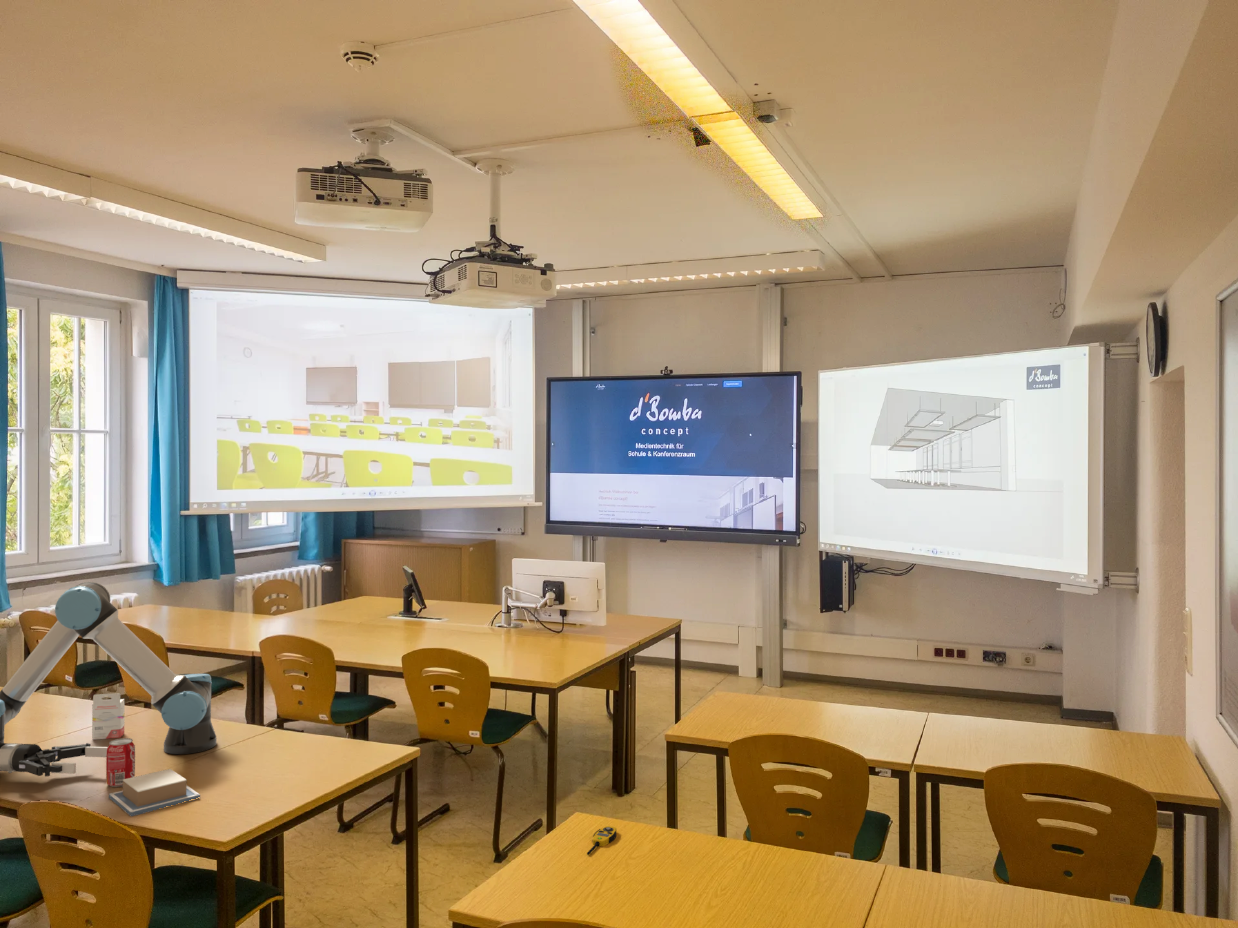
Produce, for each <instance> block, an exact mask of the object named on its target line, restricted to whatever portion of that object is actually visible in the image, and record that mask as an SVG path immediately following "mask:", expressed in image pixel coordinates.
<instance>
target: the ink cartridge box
mask: <svg viewBox="0 0 1238 928" xmlns="http://www.w3.org/2000/svg"><path fill="white" fill-rule="evenodd" d="M103 698H106V699H103ZM107 698H108V699H107ZM109 698H110V699H109ZM91 706H92V710H91V711H92V713H91V714H92V717H91V718H92V719H91V720H92V725H91V728H92V729H91V735H92V736H91V737H92V738H91V739H92V740H106V739H107V740H108V739H121V738H122V736H123V735H124V734H125V698H121V693H119V692H117V693H103V694H102V693H101V694H99V693H98V694H93V698H92V705H91Z"/></svg>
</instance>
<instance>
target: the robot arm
mask: <svg viewBox="0 0 1238 928" xmlns="http://www.w3.org/2000/svg"><path fill="white" fill-rule="evenodd" d="M54 614H55V617H56V622H55V623H54V625H53V626H52V627H51V628H49V630H48V632H47V633H46V634H45V635H44V637H43V638H42V639H41V640H40V641H39V642H38V644H37V645H36V647H35V648H34V649H33V650H32V652H30V654H29V655H28V656H27V657H26V659H25V660H24V661H23V663H22V664H21V665H20V667H19V668H18V669H17V670H16V672H14V674H13V675H12V676H11V678H10V679H8V682H7V683H6V684H5V685H4V687H3V688H2V689H1V690H0V772H8V773H9V774H11V773H13V772H17V773H18V772H19V773H29V774H32V775H34V776H37V777H41V776H43V775H44V777H49V776H51V773H52V774H69V775H72V774H73V775H74V774H76V773H77V771H76V770H77V769H76V768H77V763H76V762H63V761H61V760H65V759H70V758H71V759H72V758H76V757H84V758H85V757H88V758H106V755H107V748H108V746H91V744H92V743H89V742H86V743H83V744H73V745H62V746H61V745H60V746H52V747H51V749H50V748H47V749H42V748H41V747H40V745H38V744H36V743H16V742H15V743H10V742H6V743H5V726H6V724H8V723H9V722H10V721H11V720H12V719H14V718H16V716H17V715H18V714H19V713H20V711H21V710H22V708H23V706H24V705H25V704H26V702H27V701H28V700H29V699H30V697H31V696H32V695H33V694H34V693H35V691H36V690H37V689H38V687H40V685H41V684H42V683H43V682H44V681H45V679H46V677H47V676H48V675H49V674H50V672H51V671H52V670H53V669H54V668H55V666H57V664H58V663H59V662H60V660H61V659H62V657H63V656H64V655H65V654H66V653H67V651H68V650H69V649H70V648H71V646H72V645H73V644H74V642H75V641H76V640H77V639H78V637H81V638H82V639H84V640H85V639H87V640H88V639H89V640H93V642H94V643H96V644H97V645H98V647H100V648H101V649H102V650H103V651H104V652H105V653H106V654H107V655H108V656H109V657H111V659H112V660H113V661H114V662H116V663H117V665H119V666H120V667H121V668H122V669H123V670H124V671H125V672H126V673H127V674H128V675H129V677H131V678H132V679H133V680H134V681H135V682H136V683H137V684H138V685H140V687H141V688H142V689H144V691H146V693H148V694H149V695H150V696H151V699H150V704H151V705H152V706H153V707H154V708H155V709H156V711H158V712H159V713H160V714H161V718H162V720H163V722H164V724H166V726H167V727H169V728H168V731H167V733H166V736H165V739H164V742H163V752H165V753H167V754H170V755H189V754H195V753H201V752H205V751H209V750H210V749H213V748H214V747H215V746H217V739H218V738H217V735H216V731H215V729H214V726H213V723H212V718H211V717H212V709H211V708H212V683H213V682H212V676H211V675H210V674H209V673H190V674H189V673H188V674H176V673H175V672H174V671H173V670H171V668H170V667H169V666H168V665H166V664H165V662H163V660H161V659H160V657H158V656H157V655H156V654H155V653H154V652H153V651H152V650H151V649H150V648H149V646H147V645H146V644H145V643H144V642H143V641H142V640H141V639H140V638H139V637H138V636H137V635H136V634H135V633H134V632H133V631H132V630H130V628H129V627H128V626H127V625H126V624H124V623H123V622H122V620H120V618H119V609H117V607H116V606H114V604H112V602H111V595H110V592H109V591H108V589H107V588H106V587H105V586H103V585H102V584H100V583H98V582H93V581H92V582H91V581H86V582H82V583H80V584H77V585H75V586H73V587H70V588H69V589H67V590H65V591H64V592H63V593H62V594H61V595H60V597H58V599H57V601H56V603H55V606H54ZM60 761H61V762H60Z"/></svg>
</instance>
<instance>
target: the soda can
mask: <svg viewBox="0 0 1238 928" xmlns="http://www.w3.org/2000/svg"><path fill="white" fill-rule="evenodd" d="M133 741H134V739H133V738H131V737H130V738H129V737H123V738H122V737H121V738H115V739H113V740H110V741H109V745H108V746H107V747H108V748H107V755H106V757H105V759H106V760H105V763H106V765H105V772H106V773H105V776H106V777H105V779H106V781H105V782H106V785H107V786H110V787H112V788H123V779H128V778H132V777H136V774H135V773H136V745H135V743H134V742H133Z"/></svg>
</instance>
